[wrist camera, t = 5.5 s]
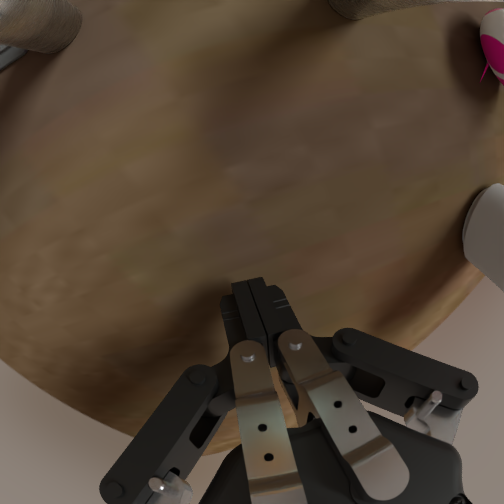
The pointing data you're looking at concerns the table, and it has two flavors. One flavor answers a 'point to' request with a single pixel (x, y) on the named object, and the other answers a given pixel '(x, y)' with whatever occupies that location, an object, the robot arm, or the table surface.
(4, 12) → the post
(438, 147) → the table surface
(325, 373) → the robot arm
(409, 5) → the post
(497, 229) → the can
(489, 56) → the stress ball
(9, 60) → the calculator
